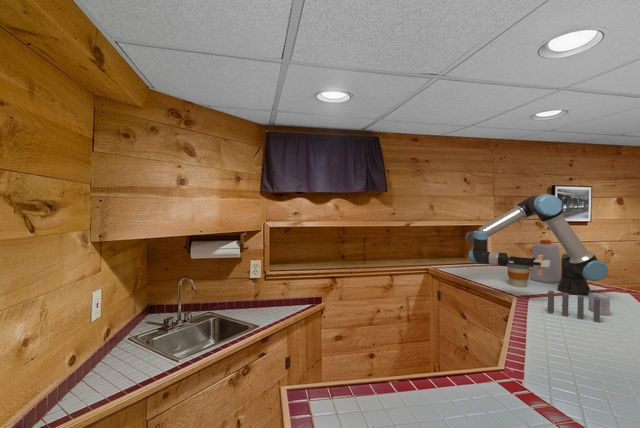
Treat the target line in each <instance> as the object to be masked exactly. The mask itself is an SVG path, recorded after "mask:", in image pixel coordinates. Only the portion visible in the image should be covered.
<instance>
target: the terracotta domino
mask: <svg viewBox="0 0 640 428" xmlns="http://www.w3.org/2000/svg"><path fill="white" fill-rule="evenodd" d="M538 261H544V255H538ZM543 272H544V267H540V266H538V275H543Z"/></svg>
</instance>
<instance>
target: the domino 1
mask: <svg viewBox="0 0 640 428" xmlns="http://www.w3.org/2000/svg"><path fill="white" fill-rule="evenodd" d="M554 311H555V291H554V290H549V289H548V292H547V314H549V315H553V314H554Z"/></svg>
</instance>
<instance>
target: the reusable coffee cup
mask: <svg viewBox="0 0 640 428" xmlns="http://www.w3.org/2000/svg"><path fill="white" fill-rule="evenodd" d="M506 267H507V278H508V280H509V286H511V287H514V286H515V288H516V287H517V288H527V285H528V280H529V279H530V269H531V266H524V265H515V264H509V263H507V266H506Z"/></svg>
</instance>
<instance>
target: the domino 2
mask: <svg viewBox="0 0 640 428" xmlns="http://www.w3.org/2000/svg"><path fill="white" fill-rule="evenodd" d="M569 294H570V293H565V292H562V299H561V302H562V303H561V315H562V317H566V318H567V317H569V299H570V297H569Z"/></svg>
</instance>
